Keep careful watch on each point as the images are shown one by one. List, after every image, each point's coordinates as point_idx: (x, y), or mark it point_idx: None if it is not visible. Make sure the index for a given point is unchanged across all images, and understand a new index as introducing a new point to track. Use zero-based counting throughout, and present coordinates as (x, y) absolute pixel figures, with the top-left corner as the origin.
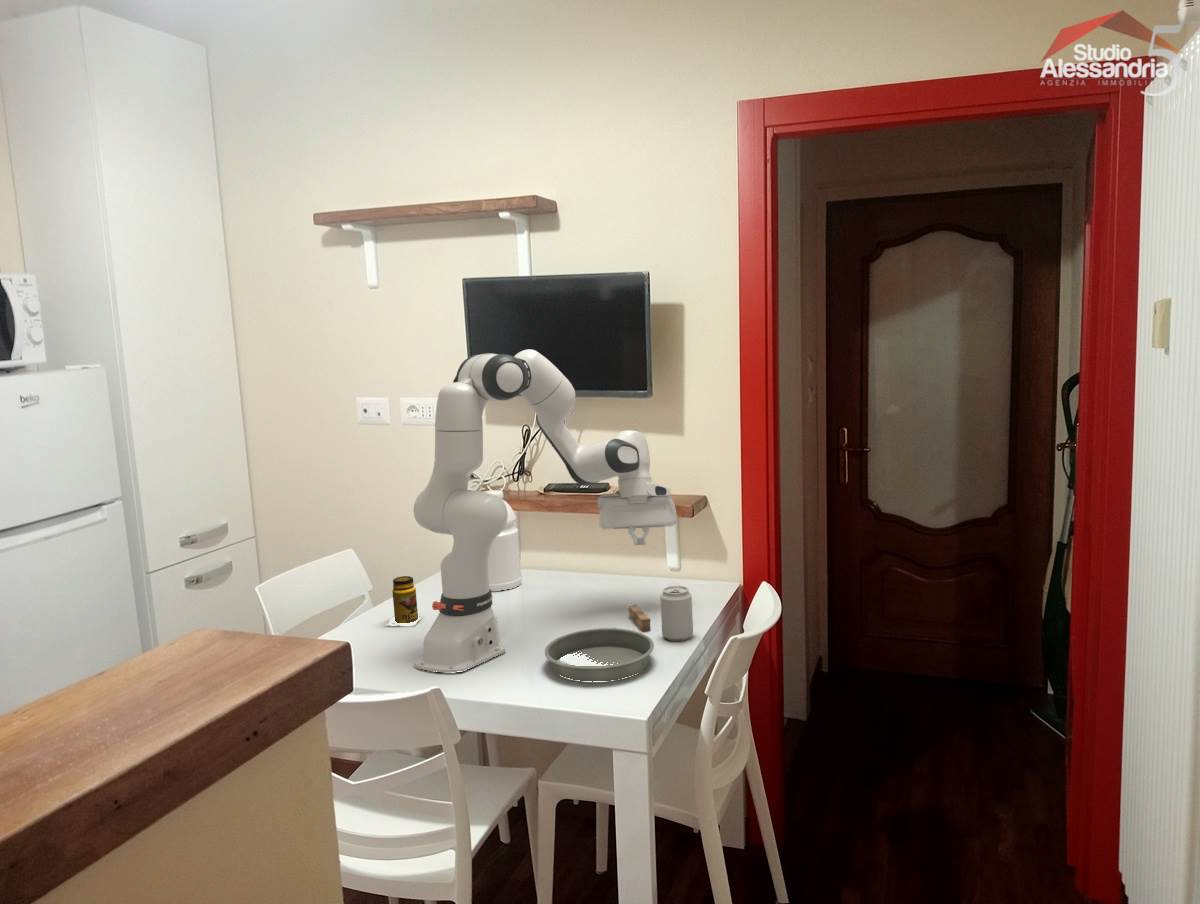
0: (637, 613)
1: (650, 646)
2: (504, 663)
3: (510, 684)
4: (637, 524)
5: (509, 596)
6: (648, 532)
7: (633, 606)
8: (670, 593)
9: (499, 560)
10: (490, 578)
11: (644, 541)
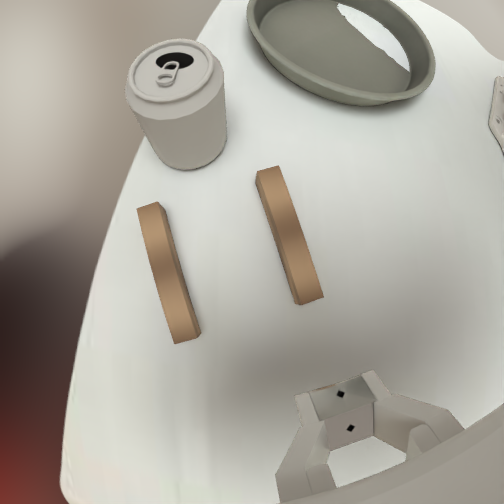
0: (294, 223)
1: (253, 7)
2: (472, 89)
3: (433, 29)
4: (420, 465)
5: None
6: (284, 460)
7: (309, 290)
8: (191, 40)
9: None
10: None
11: (310, 401)
